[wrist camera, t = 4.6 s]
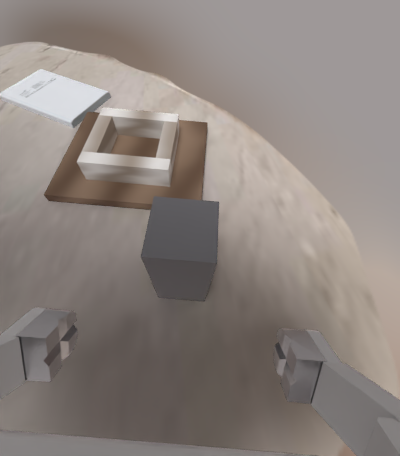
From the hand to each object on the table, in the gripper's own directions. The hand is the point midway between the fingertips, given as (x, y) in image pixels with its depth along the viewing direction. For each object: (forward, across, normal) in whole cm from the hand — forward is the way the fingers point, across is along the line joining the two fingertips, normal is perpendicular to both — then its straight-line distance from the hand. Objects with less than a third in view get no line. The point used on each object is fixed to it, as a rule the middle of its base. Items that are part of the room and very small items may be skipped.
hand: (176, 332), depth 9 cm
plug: (+11, 0, +3) cm, 12 cm away
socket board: (+21, +8, -7) cm, 23 cm away
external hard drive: (+29, +21, -14) cm, 39 cm away
